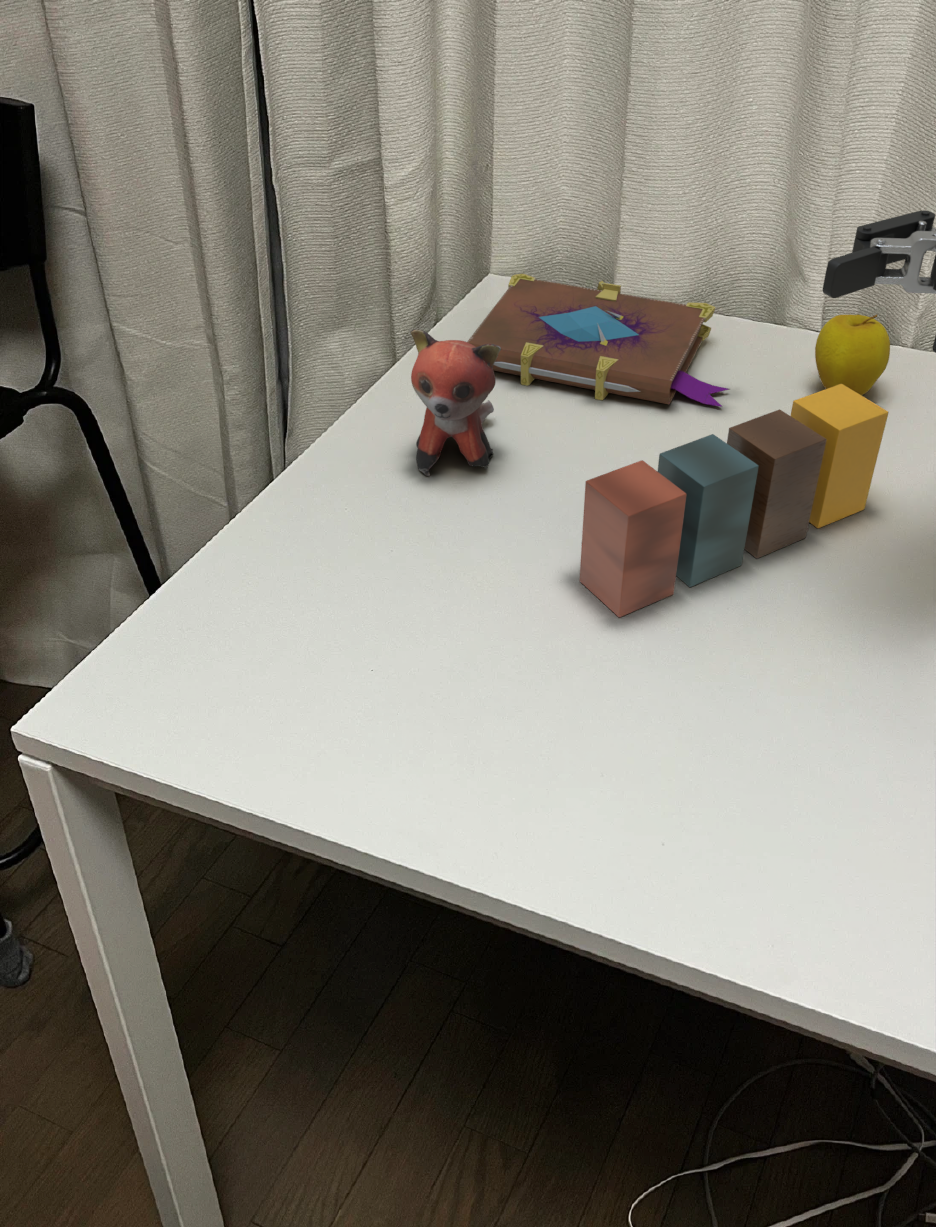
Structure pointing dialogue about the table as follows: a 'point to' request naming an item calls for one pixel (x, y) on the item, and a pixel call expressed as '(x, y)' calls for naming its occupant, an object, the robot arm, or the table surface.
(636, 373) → the book
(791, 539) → the three coloured blocks
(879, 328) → the apple
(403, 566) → the table surface
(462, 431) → the stuffed fox
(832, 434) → the block
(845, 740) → the table surface
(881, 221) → the robot arm
